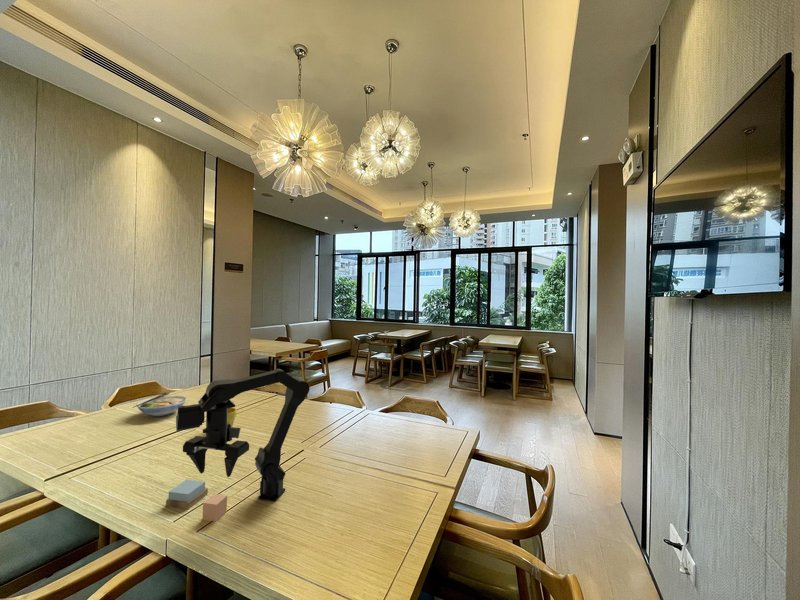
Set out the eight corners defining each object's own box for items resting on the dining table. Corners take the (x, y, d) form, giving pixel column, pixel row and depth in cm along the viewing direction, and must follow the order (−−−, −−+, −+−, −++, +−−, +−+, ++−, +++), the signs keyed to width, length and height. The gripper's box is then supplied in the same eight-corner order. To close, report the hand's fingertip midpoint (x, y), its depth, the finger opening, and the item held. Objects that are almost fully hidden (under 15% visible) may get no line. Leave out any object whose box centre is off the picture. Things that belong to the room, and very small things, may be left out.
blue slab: (204, 489, 107) (205, 481, 107) (188, 502, 100) (188, 494, 100) (186, 486, 108) (186, 479, 108) (168, 499, 101) (168, 491, 101)
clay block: (226, 512, 99) (227, 495, 99) (215, 521, 94) (216, 504, 94) (213, 510, 99) (214, 493, 99) (202, 519, 95) (203, 502, 95)
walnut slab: (207, 496, 107) (207, 488, 107) (188, 511, 99) (188, 503, 99) (186, 493, 109) (186, 485, 109) (165, 507, 101) (166, 500, 101)
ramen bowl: (165, 423, 166) (166, 407, 166) (122, 421, 167) (122, 406, 167) (196, 407, 191) (197, 393, 191) (159, 406, 192) (159, 392, 192)
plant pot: (223, 435, 153) (224, 415, 153) (207, 432, 156) (208, 412, 156) (240, 428, 163) (241, 408, 163) (225, 425, 166) (225, 406, 166)
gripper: (260, 416, 104) (259, 464, 104) (209, 412, 107) (208, 458, 107) (237, 430, 93) (236, 484, 93) (181, 424, 96) (180, 476, 96)
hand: (215, 474), depth 98 cm, fingers open, 9 cm apart
